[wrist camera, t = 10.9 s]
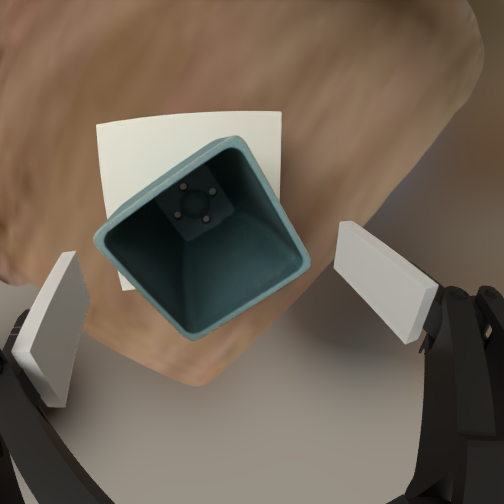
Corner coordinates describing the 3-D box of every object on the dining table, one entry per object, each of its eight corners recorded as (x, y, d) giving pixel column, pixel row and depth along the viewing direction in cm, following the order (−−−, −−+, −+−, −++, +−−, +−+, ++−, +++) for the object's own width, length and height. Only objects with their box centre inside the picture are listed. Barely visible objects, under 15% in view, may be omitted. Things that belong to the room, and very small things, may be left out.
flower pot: (181, 273, 25) (191, 346, 17) (115, 192, 21) (88, 239, 13) (268, 215, 25) (316, 266, 17) (212, 124, 20) (239, 130, 13)
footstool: (114, 122, 25) (96, 124, 18) (253, 111, 28) (281, 111, 21) (130, 251, 31) (122, 290, 24) (253, 236, 34) (276, 270, 28)
